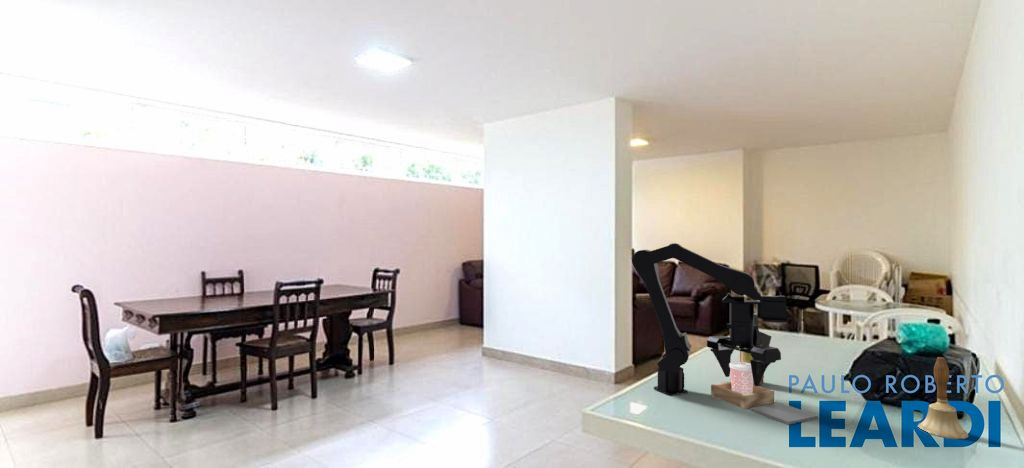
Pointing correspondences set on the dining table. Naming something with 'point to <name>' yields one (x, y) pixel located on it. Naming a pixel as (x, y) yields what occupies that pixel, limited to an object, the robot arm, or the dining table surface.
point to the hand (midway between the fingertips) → (741, 381)
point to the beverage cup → (741, 376)
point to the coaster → (784, 413)
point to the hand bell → (942, 408)
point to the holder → (742, 395)
